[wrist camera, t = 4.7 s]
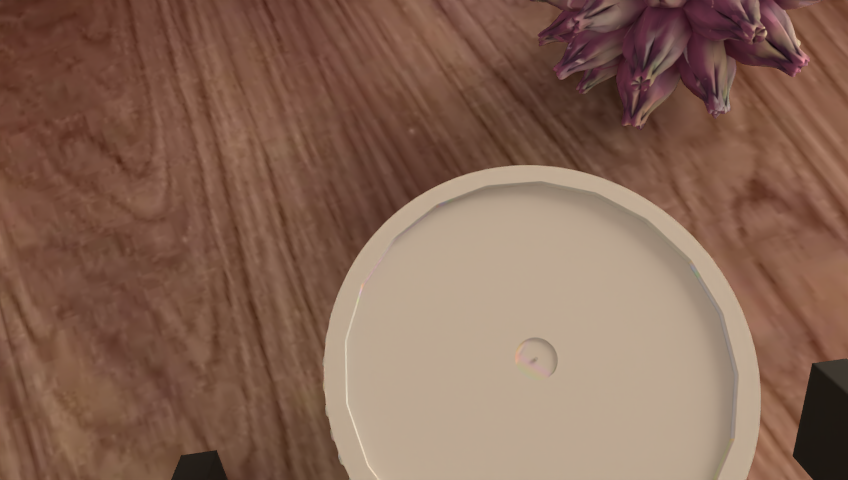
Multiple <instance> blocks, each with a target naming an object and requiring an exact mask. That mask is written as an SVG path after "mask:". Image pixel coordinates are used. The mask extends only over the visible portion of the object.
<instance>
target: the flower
mask: <svg viewBox="0 0 848 480" xmlns="http://www.w3.org/2000/svg"><path fill="white" fill-rule="evenodd" d="M530 1H534V2H547V3H549V4H551V5H554V6H556V7H558V8H559V9H561V10H564V11H563V12H562V13H561V14H560V15H559V16H558V18H557V19H556V20H555V21H554V22H553V23H552V24H551V25H550V26H549V27H548V28H546V29H545V30H543V31H542V32H540V33H539V34H538V36H539V37H540V38H539V39H538V40H539V41H540V44H539V46H542V45H546V44H549V43H551V42H568V43H569V44H568V47H567V49H566V52H565V54H564V56H563V58H562V59H561V61H560V62H559V63H558V64H557V65H556V66H555V67H554V68H553V71H556V76H558V78H559V79H560V80H562V79H565V78H566V77H568V76H569V75H571V74H572V73H574V72H578V71H583V70H585V72H584V75H583V78H582V79H581V81H580V82H579V84H578V85H577V87H576V90H579V93H583V94H585V93H587V92H588V91H589V90H590V89H591V88H592V87H594V86H595V85H597V84H598V83H600V82H603V81H605V80H607V79H609V78H611V77H613V76H614V75H616V74H617V75H616V81H617V88H618V92H619V95H620V98H621V100H622V103H623V107H624V113H623V118H622V126H627V125H629V126H630V125H632V126H634V127H635V126H636V127H637V129H640V130H642V128H643V127H644V125H645V122H646V120H647V117H648V116H649V114H650V113H651V112H652V111H653V110H654V109H655V108H656V107H658V106H659V105H660V104H661V103H663V102H664V101H665V100H666V99H667V98H668V97H669V96H670V94H671V93H672V92H673V91H674V90H675V88H676V86H677V84H678V82H679V80H680V77H681V79H682V81H683V83H684V85H685V86H686V87H687V88H688V89H689V90H690V91H691V92H692V93H693V94H695V95H696V96H697V97H699V98H700V99H702V100H703V101H704V103H705V106H706V108H707V111H708V113H711V114H712V115H713V117H714V118H715V119H716V117H717V116H718V115H719V114H720V113H721V114H725V113H726V112H727V111H730V110H731V108H730V103H729V91H730V88H731V86H732V82H733V79H734V77H735V73H736V61H735V60H737V61H739V62H741V63H742V64H746V65H751V66H763V67H773V68H777V69H779V70H781V71H783V72H785V73H786V74H788V75H789V76H791V77H794V76H795V75H796V73H799V72H800V71H801V68H802V67H803V66H806V65H808V63H807V62H809V60H810V58H809V57H808V56H807V55H806V54H805V53H804V52H803V51H802V50H801V49H800V48H799V46H800V44H801V42H800V41H799V40H797V39H796V37H795V32H794V28H793V26H792V23H791V21H790V18H789V16H788V14H787V13H786V11H785V9H797V8H801V7H804V6H809V5H812V4H815V3H817V2H820V1H822V0H530Z"/></svg>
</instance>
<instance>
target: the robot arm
mask: <svg viewBox="0 0 848 480" xmlns="http://www.w3.org/2000/svg"><path fill="white" fill-rule="evenodd" d="M793 457H794V458H795V459H796V460H797V462H798V463H799V464H800V465H801V466H802V467H803V468H804V470H805V471H806V472H807V473H808V474H809V475H810V477H811V478H812V479H813V480H848V359H840V360H833V361H826V362H819V363H812V367H811V372H810V377H809V381H808V386H807V391H806V396H805V400H804V405H803V410H802V414H801V419H800V424H799V429H798V433H797V438H796V443H795V448H794V452H793ZM171 480H228V479H227V477H226V474H225V471H224V469H223V466H222V463H221V461H220V458H219V455H218V453H217V450H216V451H209V452H202V453H195V454H188V455H181V457H180V460H179V462H178V465H177V467H176V469H175V472H174V474H173V477H172V479H171Z"/></svg>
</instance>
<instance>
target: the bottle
mask: <svg viewBox="0 0 848 480" xmlns="http://www.w3.org/2000/svg"><path fill="white" fill-rule="evenodd" d="M325 343H326V345H325V355H324V358H323V367H324V381H323V391H324V392H325V398H326V406H325V411H326V415H327V416H328V417H329V421H330V426H331V431H330V434H331V437H332V440H334V441H335V443H336V446H337V449H338V452H339V455H338V458H339V460H340V463H341V464H342V465H344V466H345V469H346V471H347V473H348V475H349V480H746V478H747V476H748V473H749V470H750V467H751V464H752V460H753V457H754V453H755V449H756V444H757V439H758V432H759V425H760V412H761V391H760V377H759V369H758V363H757V357H756V353H755V348H754V344H753V340H752V337H751V333H750V330H749V327H748V324H747V322H746V319H745V316H744V314H743V311H742V309H741V307H740V305H739V302H738V300H737V298H736V296H735V294H734V292H733V290H732V289H731V287H730V285H729V283H728V282H727V280H726V278H725V277H724V275H723V274H722V272H721V271H720V269H719V268H718V266H717V265H716V263H715V262H714V261H713V259H712V258H711V257H710V256H709V254H708V253H707V252H706V251H705V249H704V248H703V247H702V246H701V245H700V244H699V242H698V241H697V240H696V239H695V238H694V237H693V236H692V235H691V234H690V233H689V232H688V231H687V230H686V229H685V228H684V227H683V226H681V225H680V224H679V223H678V222H677V221H676V220H674V219H673V218H672V217H671V216H670V215H668V214H667V213H666V212H664V211H663V210H662V209H660V208H659V207H657V206H656V205H654V204H653V203H651V202H650V201H648V200H647V199H645V198H643V197H642V196H640V195H638V194H636V193H635V192H633V191H631V190H629V189H627V188H625V187H623V186H620V185H618V184H616V183H614V182H611V181H608V180H606V179H603V178H600V177H597V176H594V175H591V174H587V173H584V172H580V171H575V170H571V169H565V168H559V167H551V166H539V165H517V166H505V167H497V168H491V169H485V170H481V171H477V172H473V173H469V174H466V175H463V176H460V177H457V178H454V179H452V180H449V181H447V182H445V183H442V184H440V185H438V186H436V187H434V188H432V189H430V190H428V191H426V192H425V193H423V194H421V195H420V196H418V197H417V198H415V199H414V200H412V201H411V202H409V203H408V204H406V205H405V206H404V207H402V208H401V209H400V210H399V211H397V212H396V213H395V214H394V215H393V216H392V217H391V218H389V219H388V220H387V221H386V222H385V223H384V224H383V225H382V226H381V227H380V228H379V229H378V230H377V232H376V233H375V234H374V235H373V236H372V237H371V239H370V240H369V241H368V242H367V244H366V245H365V246H364V248H363V249H362V250H361V252H360V253H359V255H358V256H357V258H356V259H355V261H354V263H353V264H352V266H351V268H350V270H349V272H348V273H347V275H346V277H345V280H344V282H343V284H342V286H341V288H340V291H339V293H338V295H337V299H336V302H335V304H334V307H333V311H332V312H331V316H330V322H329V327H328V332H327V334H326V338H325Z"/></svg>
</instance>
